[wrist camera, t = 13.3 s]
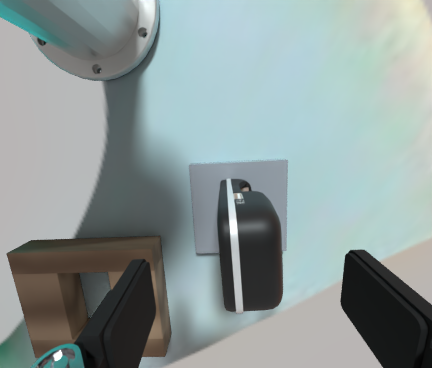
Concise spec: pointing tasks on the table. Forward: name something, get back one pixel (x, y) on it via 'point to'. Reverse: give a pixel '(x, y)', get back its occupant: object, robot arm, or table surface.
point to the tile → (210, 186)
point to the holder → (72, 290)
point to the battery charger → (249, 248)
